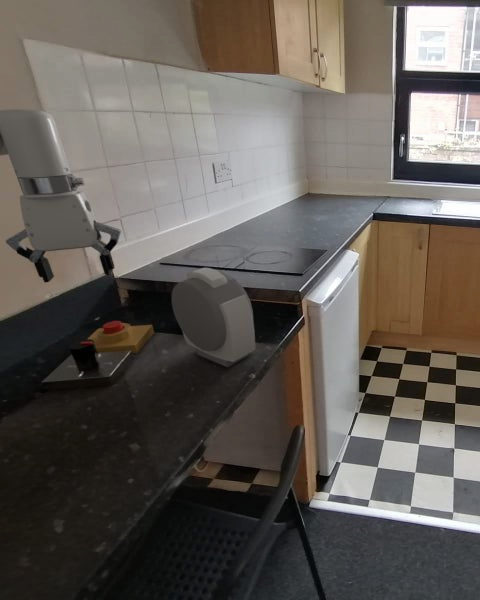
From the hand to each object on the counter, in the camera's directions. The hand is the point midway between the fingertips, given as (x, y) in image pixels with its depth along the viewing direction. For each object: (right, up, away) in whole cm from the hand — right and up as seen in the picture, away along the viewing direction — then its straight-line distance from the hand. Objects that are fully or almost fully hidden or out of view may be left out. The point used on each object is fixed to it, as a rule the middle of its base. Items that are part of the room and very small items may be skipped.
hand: (80, 276), depth 78 cm
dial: (-2, -18, +5) cm, 19 cm away
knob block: (-4, -15, +16) cm, 23 cm away
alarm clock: (+22, -17, +12) cm, 31 cm away
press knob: (-4, -12, +15) cm, 19 cm away
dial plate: (-2, -20, +6) cm, 21 cm away
